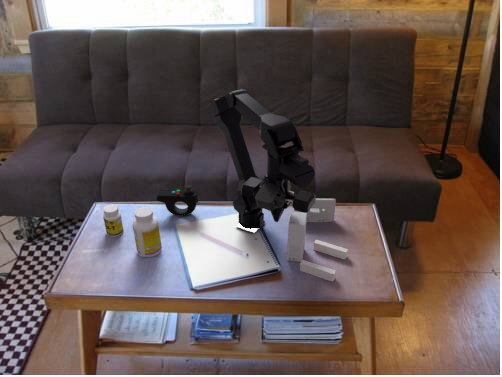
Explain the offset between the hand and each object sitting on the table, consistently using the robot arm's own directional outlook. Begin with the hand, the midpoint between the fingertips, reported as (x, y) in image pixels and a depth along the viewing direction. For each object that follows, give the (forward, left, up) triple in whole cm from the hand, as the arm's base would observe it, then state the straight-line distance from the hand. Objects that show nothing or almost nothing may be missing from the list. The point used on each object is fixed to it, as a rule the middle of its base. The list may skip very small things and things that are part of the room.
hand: (276, 221), depth 123 cm
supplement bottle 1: (-44, -15, -9) cm, 48 cm away
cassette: (+4, +17, -9) cm, 20 cm away
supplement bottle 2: (-30, -17, -9) cm, 36 cm away
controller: (-33, +1, -9) cm, 34 cm away
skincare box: (+6, 0, -9) cm, 11 cm away
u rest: (+14, 0, -9) cm, 17 cm away
